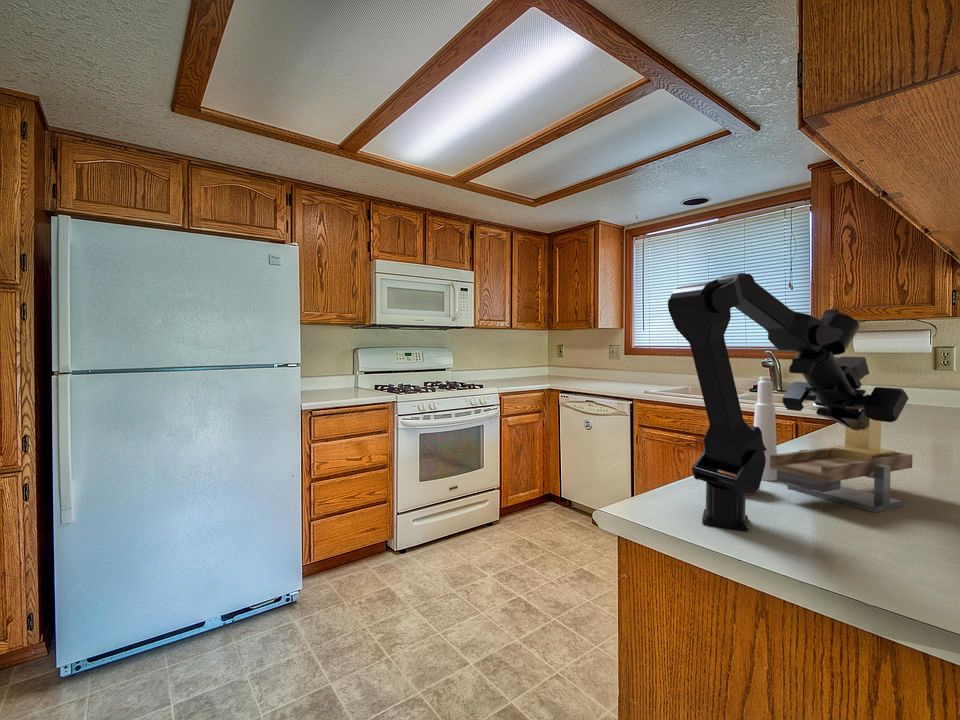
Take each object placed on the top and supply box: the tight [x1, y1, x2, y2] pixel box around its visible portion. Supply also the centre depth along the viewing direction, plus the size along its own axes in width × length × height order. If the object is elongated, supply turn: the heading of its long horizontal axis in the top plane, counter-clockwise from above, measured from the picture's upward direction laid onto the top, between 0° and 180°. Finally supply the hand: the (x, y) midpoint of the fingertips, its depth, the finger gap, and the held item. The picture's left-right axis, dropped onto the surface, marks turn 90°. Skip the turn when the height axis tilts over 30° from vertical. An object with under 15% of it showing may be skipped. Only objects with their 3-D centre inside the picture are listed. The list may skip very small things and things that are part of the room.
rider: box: [829, 413, 897, 462], centre depth 91 cm, size 8×7×10 cm
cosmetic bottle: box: [753, 376, 778, 482], centre depth 101 cm, size 6×6×22 cm
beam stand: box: [787, 449, 902, 514], centre depth 88 cm, size 8×15×8 cm, turn 23°
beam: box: [770, 447, 913, 492], centre depth 88 cm, size 26×11×4 cm, turn 113°
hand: (857, 428), depth 90 cm, fingers closed
